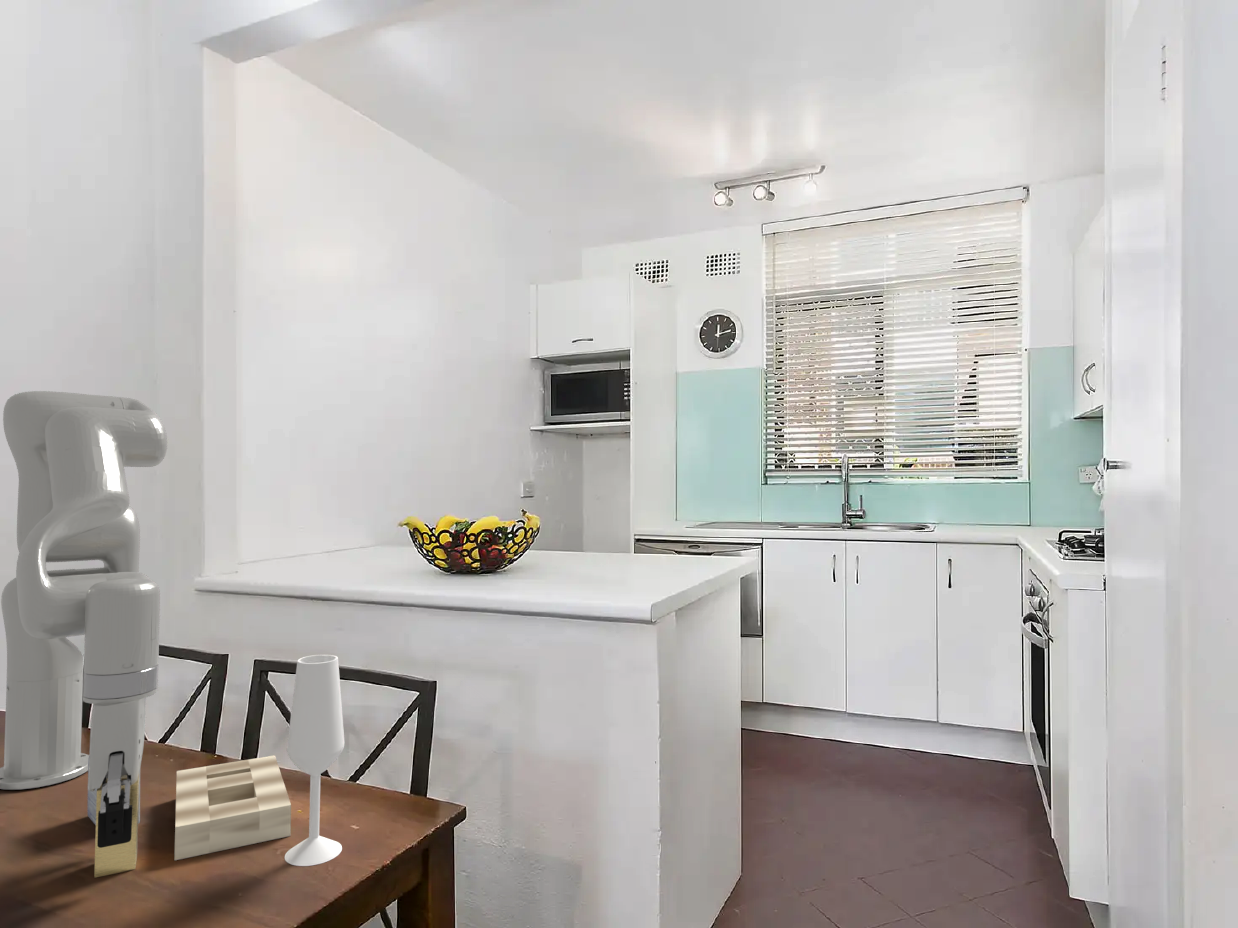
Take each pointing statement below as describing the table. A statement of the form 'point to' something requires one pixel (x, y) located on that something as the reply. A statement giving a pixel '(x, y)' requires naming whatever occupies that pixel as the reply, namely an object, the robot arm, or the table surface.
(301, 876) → the table surface
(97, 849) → the brass peg
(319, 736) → the champagne flute
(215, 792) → the socket block
